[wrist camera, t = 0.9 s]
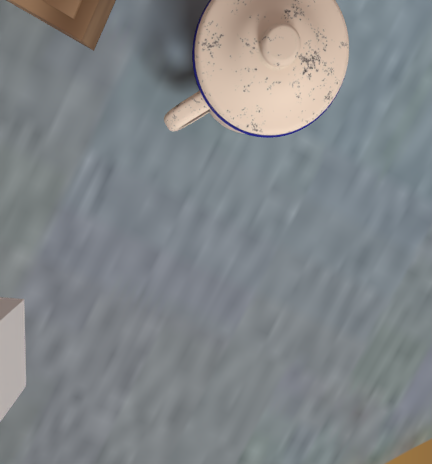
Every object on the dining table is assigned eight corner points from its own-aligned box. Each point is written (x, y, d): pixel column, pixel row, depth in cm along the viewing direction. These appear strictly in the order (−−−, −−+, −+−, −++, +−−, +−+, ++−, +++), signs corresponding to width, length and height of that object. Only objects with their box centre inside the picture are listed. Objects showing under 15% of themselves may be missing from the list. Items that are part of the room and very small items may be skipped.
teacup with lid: (274, -9, 28) (323, -106, 17) (327, 100, 30) (401, 78, 19) (141, 75, 29) (104, 38, 18) (201, 175, 32) (201, 197, 20)
